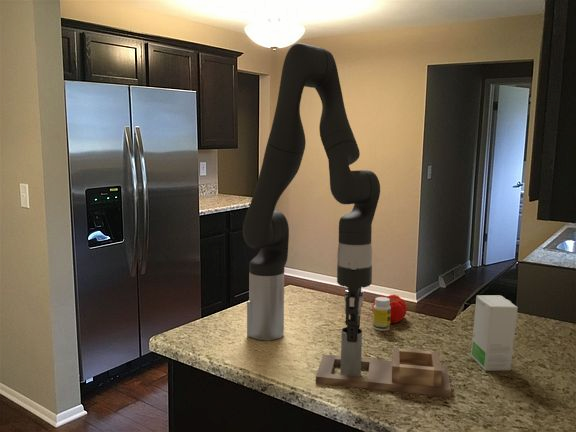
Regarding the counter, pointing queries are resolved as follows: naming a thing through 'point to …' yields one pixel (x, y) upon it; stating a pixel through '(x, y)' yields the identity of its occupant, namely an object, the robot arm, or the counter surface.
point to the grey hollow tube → (351, 354)
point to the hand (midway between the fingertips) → (353, 334)
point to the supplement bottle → (382, 314)
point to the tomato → (396, 308)
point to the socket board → (393, 373)
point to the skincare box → (493, 332)
